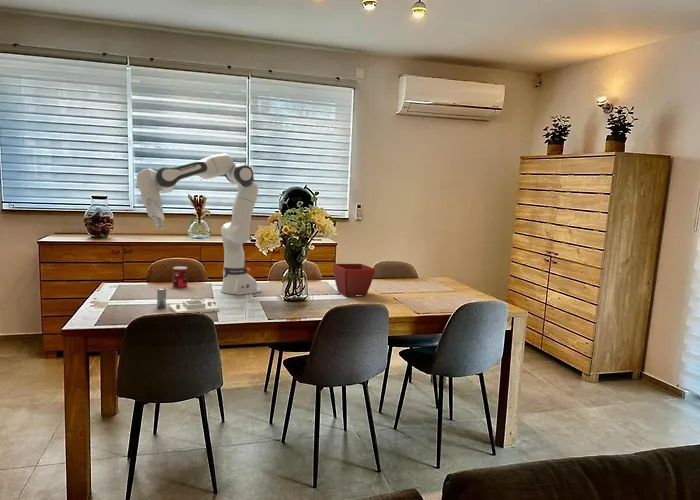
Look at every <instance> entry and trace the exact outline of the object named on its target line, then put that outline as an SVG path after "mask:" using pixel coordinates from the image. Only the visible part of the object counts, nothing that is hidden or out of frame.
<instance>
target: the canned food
mask: <svg viewBox="0 0 700 500" xmlns="http://www.w3.org/2000/svg"><path fill="white" fill-rule="evenodd" d="M188 272H189V271H188V267H187V266H178V265H177V266H174V267H172V287H174V288H180V289H181V288H186V287H187V286H188Z"/></svg>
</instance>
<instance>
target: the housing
mask: <svg viewBox="0 0 700 500" xmlns="http://www.w3.org/2000/svg"><path fill="white" fill-rule="evenodd" d="M168 308H169V309H170V310H171V311H172V313H174V314H175V313H179V312H200V313H199V314H201V313H203V314H204V313H213V311H214V312H220V307H219V306H217V305H216V304H215V303H213V302H212V301H210V300H209V301H203V300H202V299H192V300H191V299H190V300H182V303H175V304H174V303H172V304H169V305H168Z"/></svg>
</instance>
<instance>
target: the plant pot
mask: <svg viewBox="0 0 700 500" xmlns="http://www.w3.org/2000/svg"><path fill="white" fill-rule="evenodd" d="M332 270H333V276H334V281H335V282H334V283H335V285H336V289H337V293H339V292H340V293H339V294H341V293H342V294H341V295H343V296H344V295H345V297H346V296H353V297H357V296H356V295H366V296H367V294H368V291H369V290H370V287H371V286H372V285H371V284H372V282H373V278H374V275H375V271H376V269H375V268H374V267H371V266H368V265H366V264H362V263H332Z"/></svg>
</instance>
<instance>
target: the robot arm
mask: <svg viewBox="0 0 700 500" xmlns="http://www.w3.org/2000/svg"><path fill="white" fill-rule="evenodd" d="M194 176H199V177H200V178H201V179H203V180H208V179H214V178H216V177H220V176H224V177H225V178H226V180H228V182H229V183H232V184H236V185H237V188H238V189H237V194H236V197H235V199H234V202H233V205H232V208H231V214H232V215H231V221H228V222H226V223H224V224H223V225H222V226H221V229H220V234H221V238H222V245H223V253H224V254H223V255H224V258H223V260H224V261H223V267H222V268H223V270H222V276H223V279H222V285H221V288H220V292H221V293H224V294H229V295H237V296H239V295H246V294H254V293H261V292H262V289H261V287H258V283H257V280H256V279H255V278H254V277H253V276H251V275H250V274H249V272H251V269H250V268H249V267H246V266H245V254H246V253H245V251H244V248H243V244H245V243H247V242H248V241H249V240H250V238H251V232H250V230H251V229H250V227H251V219H252V216H253V215H252V214H253V212H254V209H255V206H256V202H257V198H258V193H259V186H258V184H257V183H256V182H255V178H254V171H253V169H252V167H250V166H249V165H248V164H245V163H235V162H234V160H233V158H232V157H231V156H230V155H229V154H228V153H221V154H215V155H210V156H208V157H205V158H201V159H200V160H197V161H194V162H190V163H186V164H182V165H179V166H163V167H161V168H159V169H158V170H157V171H156V170H154V169H152V168H143V169H141V170H140V171H138V173H137V174H136V182H137V186H138V190H139V191H140V197H141V202H142V205H143V207H145V209H146V213H147V215H148V217H150V218H151V220H152V222H153V225H154V226H155V227H158V228H159V229H160V230H161V229H164V226H163V225H164V224H163V221H165V215H164V210H163V201H162V197H161V194H168V193H172V192H173V191H174V189H175V187H176V185H177V184H178V182H180V181H181V180H184V179H187V178H191V177H194Z"/></svg>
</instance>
